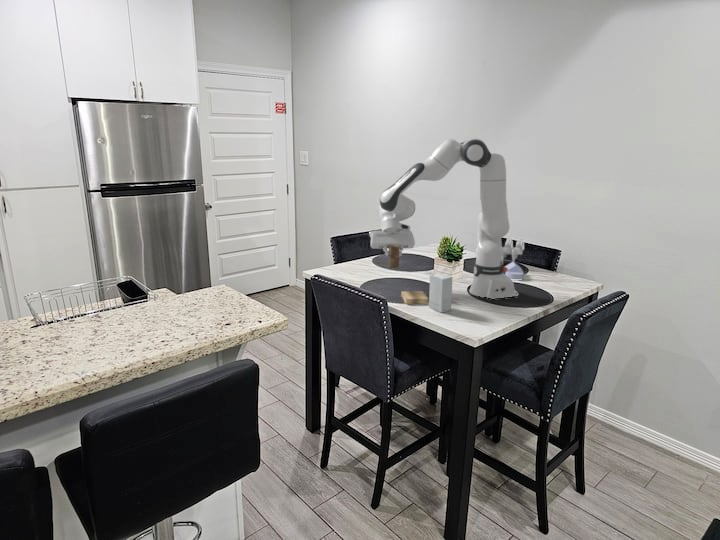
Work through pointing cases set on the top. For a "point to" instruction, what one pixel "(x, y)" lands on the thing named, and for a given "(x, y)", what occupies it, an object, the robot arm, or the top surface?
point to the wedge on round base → (514, 271)
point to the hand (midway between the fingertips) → (394, 255)
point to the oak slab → (414, 297)
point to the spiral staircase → (511, 249)
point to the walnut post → (394, 256)
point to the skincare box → (440, 292)
